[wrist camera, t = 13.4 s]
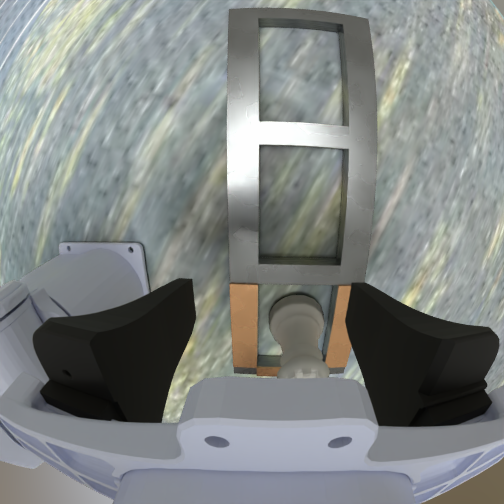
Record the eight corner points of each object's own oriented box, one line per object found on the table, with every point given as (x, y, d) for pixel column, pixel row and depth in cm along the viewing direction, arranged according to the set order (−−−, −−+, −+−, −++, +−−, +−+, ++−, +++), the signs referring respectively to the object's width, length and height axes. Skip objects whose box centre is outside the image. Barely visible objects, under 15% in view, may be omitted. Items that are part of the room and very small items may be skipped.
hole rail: (236, 362, 24) (233, 374, 22) (231, 18, 14) (228, 8, 13) (340, 362, 23) (343, 374, 22) (362, 26, 14) (368, 17, 12)
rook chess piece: (306, 281, 21) (322, 347, 13) (331, 321, 22) (352, 390, 14) (257, 308, 22) (251, 379, 14) (286, 344, 23) (289, 416, 15)
